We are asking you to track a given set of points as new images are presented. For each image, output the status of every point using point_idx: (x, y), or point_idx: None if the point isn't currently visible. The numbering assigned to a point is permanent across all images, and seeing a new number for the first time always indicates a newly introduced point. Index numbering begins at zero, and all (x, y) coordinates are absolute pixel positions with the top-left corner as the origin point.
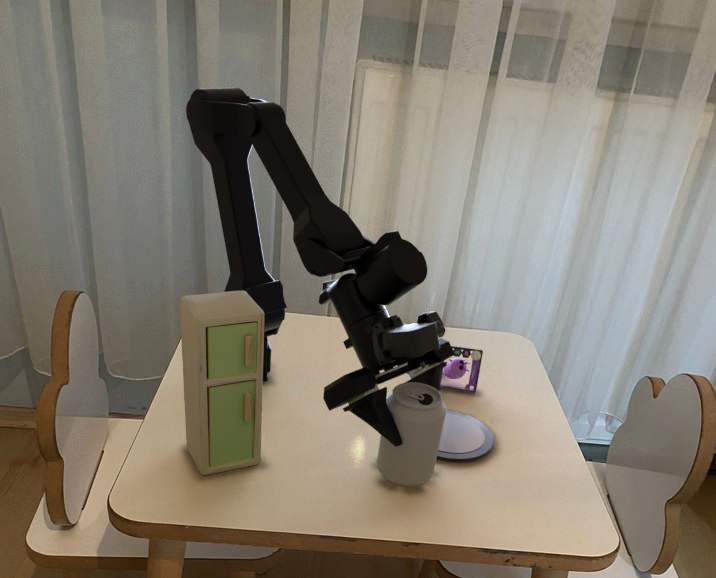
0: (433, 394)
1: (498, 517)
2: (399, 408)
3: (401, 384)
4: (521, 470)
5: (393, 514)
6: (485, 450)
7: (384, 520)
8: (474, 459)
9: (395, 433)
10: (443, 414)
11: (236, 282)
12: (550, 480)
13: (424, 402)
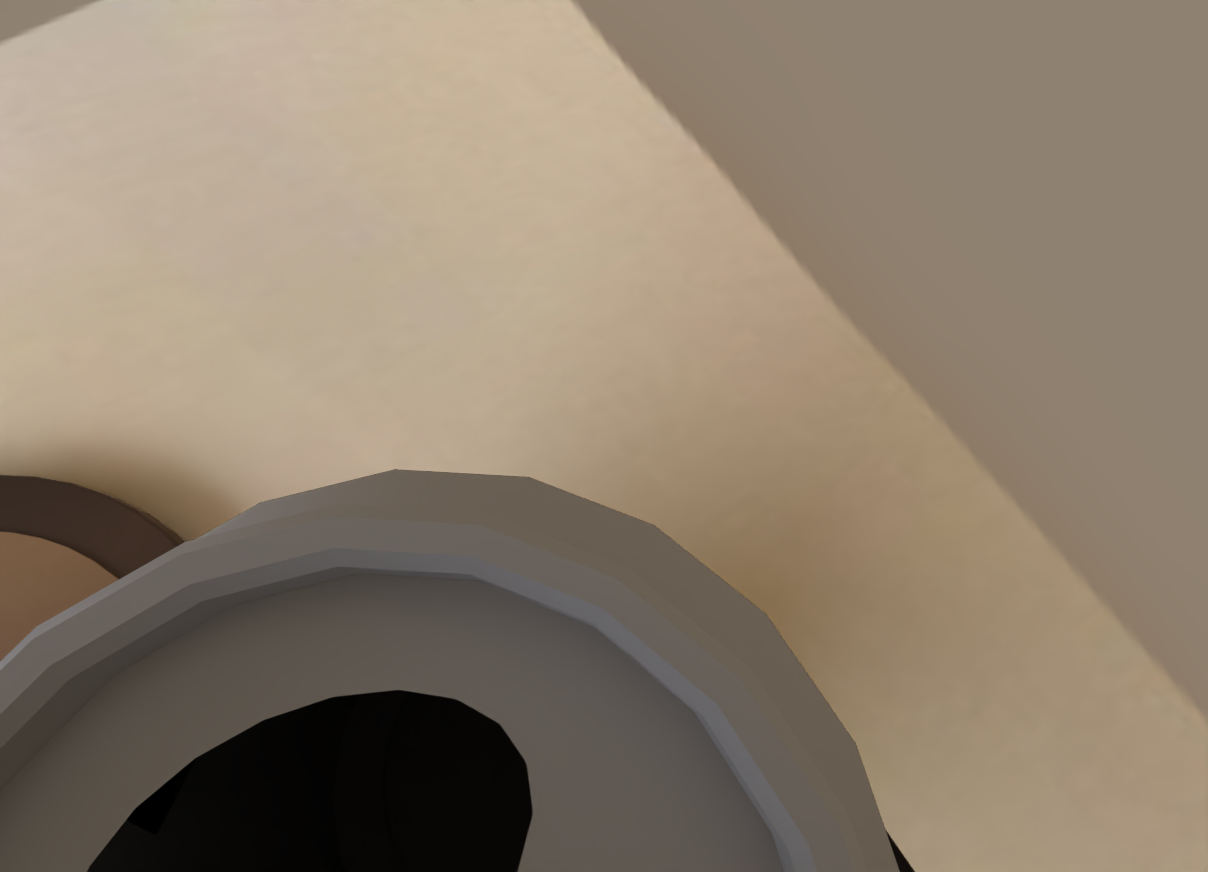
0: (8, 856)
1: (527, 216)
2: None
3: None
4: (80, 284)
5: (886, 592)
6: (10, 489)
7: (960, 600)
8: (131, 507)
9: (898, 864)
10: (380, 479)
11: None
12: (87, 156)
13: None
